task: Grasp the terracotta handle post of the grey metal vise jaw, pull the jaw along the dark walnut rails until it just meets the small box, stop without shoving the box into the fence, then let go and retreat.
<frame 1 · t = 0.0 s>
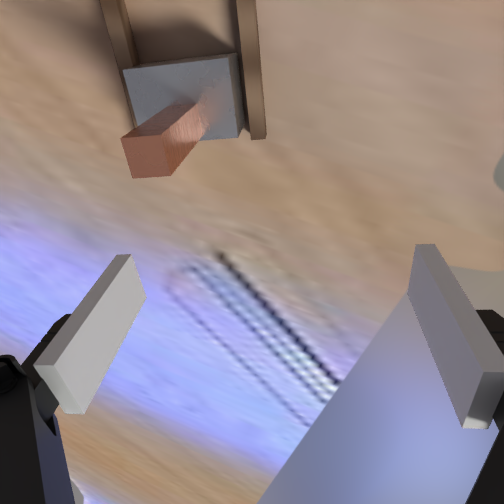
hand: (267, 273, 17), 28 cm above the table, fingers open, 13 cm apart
jaw: (174, 110, 32), point 9 cm above the table, slide at 0.0 cm
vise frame: (181, 5, 35), on the table
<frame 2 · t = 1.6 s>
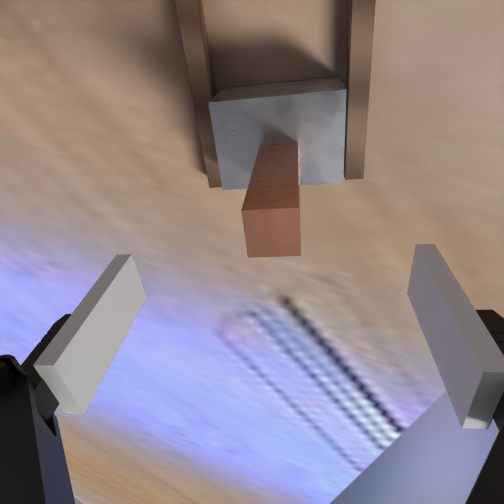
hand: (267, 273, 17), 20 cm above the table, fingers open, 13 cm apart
jaw: (277, 155, 25), point 9 cm above the table, slide at 0.0 cm
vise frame: (275, 20, 28), on the table
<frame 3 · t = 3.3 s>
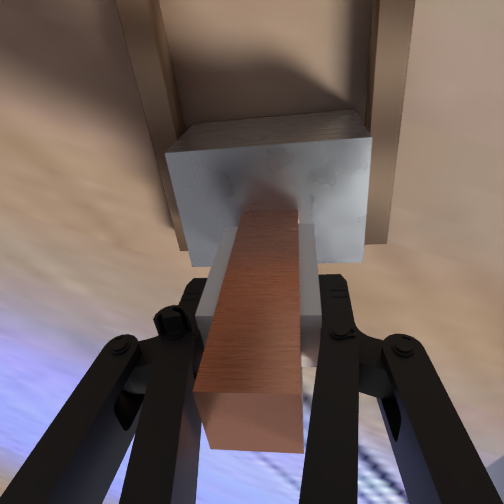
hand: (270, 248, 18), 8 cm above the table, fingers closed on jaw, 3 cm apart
jaw: (266, 234, 17), point 9 cm above the table, slide at 0.0 cm, touching gripper
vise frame: (265, 31, 20), on the table
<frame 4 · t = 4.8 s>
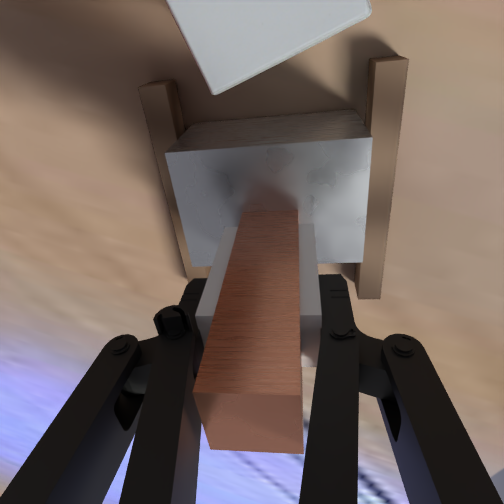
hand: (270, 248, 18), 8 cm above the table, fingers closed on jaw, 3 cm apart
jaw: (266, 235, 17), point 9 cm above the table, slide at 4.9 cm, touching gripper
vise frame: (272, 122, 22), on the table
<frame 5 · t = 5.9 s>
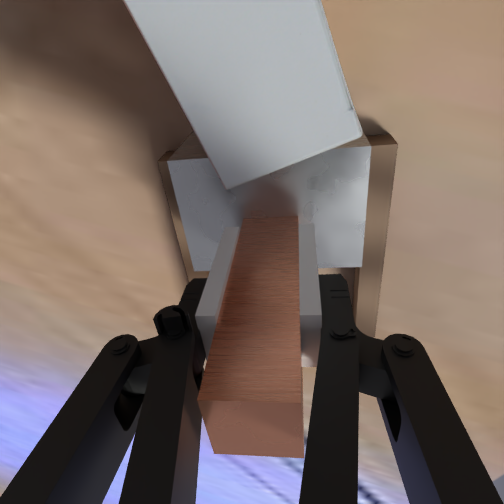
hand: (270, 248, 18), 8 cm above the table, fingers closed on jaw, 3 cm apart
small box: (265, 37, 20), on the table, touching jaw, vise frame
jaw: (267, 241, 17), point 9 cm above the table, slide at 8.9 cm, touching gripper, small box
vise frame: (276, 186, 25), on the table
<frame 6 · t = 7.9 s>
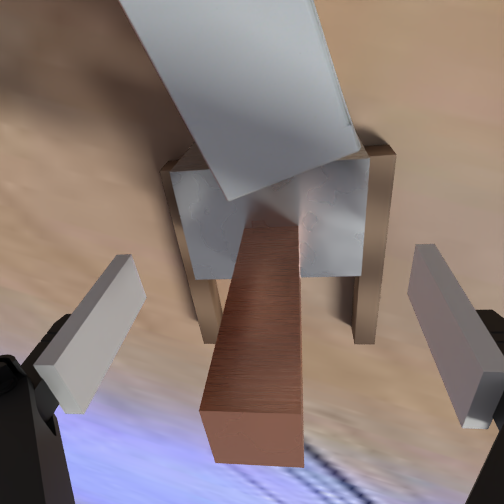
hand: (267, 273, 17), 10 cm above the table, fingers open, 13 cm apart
small box: (266, 50, 20), on the table
jaw: (268, 252, 17), point 9 cm above the table, slide at 8.8 cm
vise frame: (276, 194, 25), on the table
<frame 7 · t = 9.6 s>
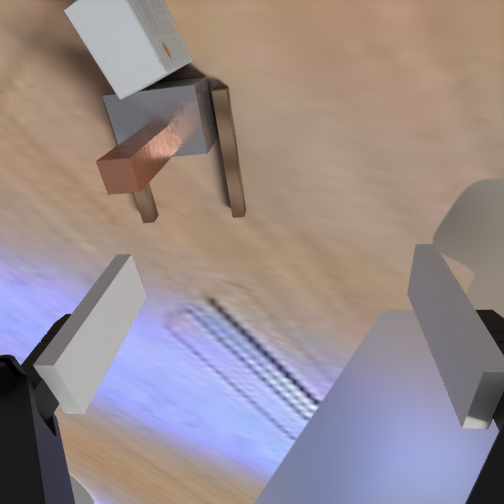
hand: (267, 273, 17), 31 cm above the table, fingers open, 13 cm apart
small box: (155, 36, 39), on the table
jaw: (148, 131, 36), point 9 cm above the table, slide at 8.8 cm
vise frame: (174, 119, 44), on the table
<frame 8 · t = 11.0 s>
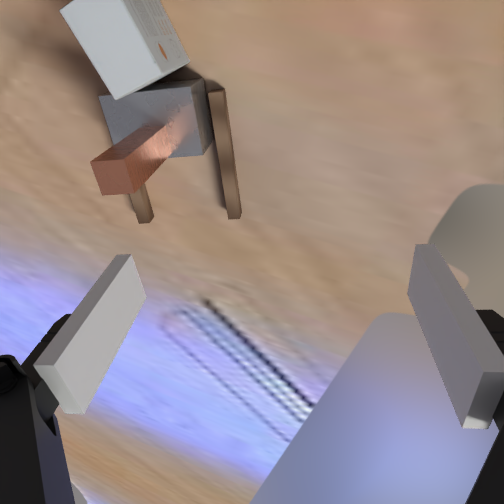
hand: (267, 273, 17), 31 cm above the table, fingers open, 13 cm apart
small box: (153, 37, 39), on the table
jaw: (143, 132, 36), point 9 cm above the table, slide at 8.8 cm
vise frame: (170, 120, 44), on the table
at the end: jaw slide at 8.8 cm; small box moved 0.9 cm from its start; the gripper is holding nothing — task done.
